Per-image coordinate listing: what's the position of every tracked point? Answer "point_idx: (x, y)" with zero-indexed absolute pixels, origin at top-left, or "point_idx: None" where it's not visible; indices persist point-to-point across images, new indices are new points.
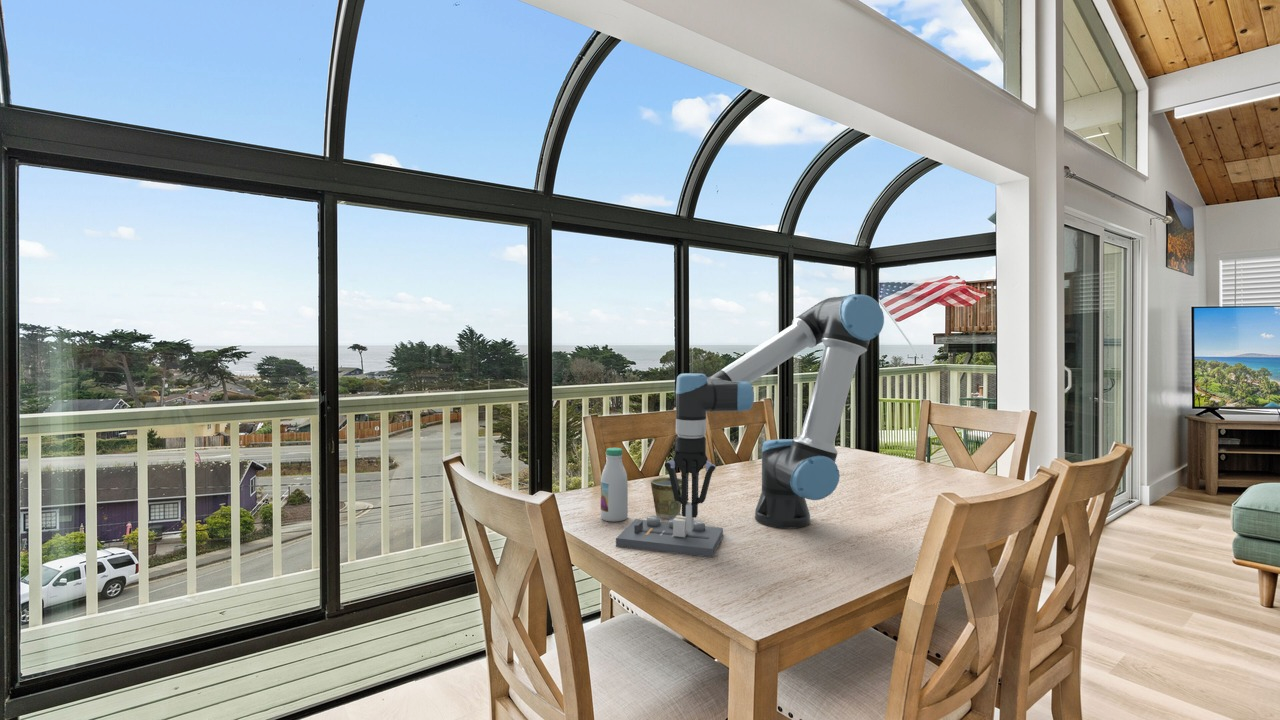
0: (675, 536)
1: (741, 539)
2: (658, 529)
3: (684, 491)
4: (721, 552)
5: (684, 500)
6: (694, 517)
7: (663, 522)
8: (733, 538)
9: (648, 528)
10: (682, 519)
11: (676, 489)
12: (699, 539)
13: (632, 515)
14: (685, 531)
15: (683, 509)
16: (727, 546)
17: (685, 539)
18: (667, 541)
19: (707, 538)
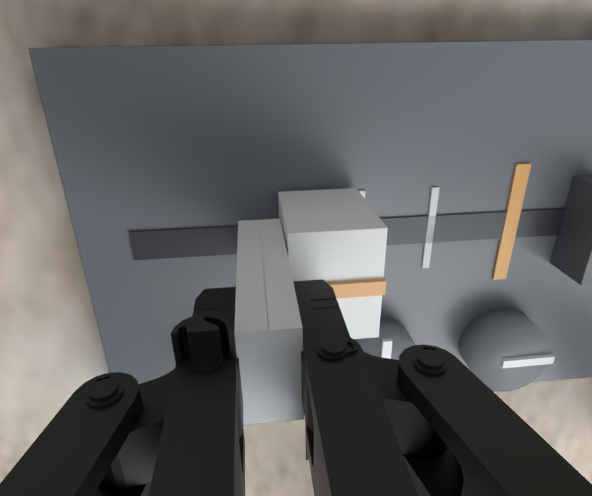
0: None
1: (21, 375)
2: (460, 279)
3: (355, 463)
4: (36, 157)
5: (327, 362)
6: (216, 288)
7: None
8: (65, 374)
9: (517, 275)
10: (317, 268)
11: (495, 466)
12: (182, 204)
13: (585, 457)
14: (281, 222)
15: (324, 314)
16: (45, 260)
17: (268, 172)
18: (373, 92)
19: (137, 232)
